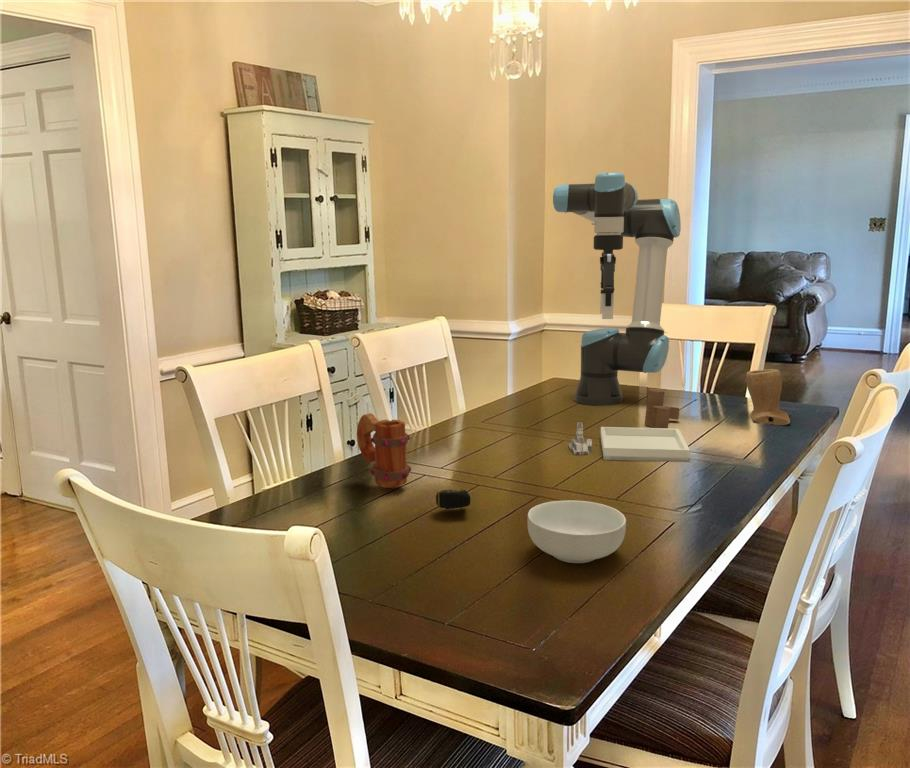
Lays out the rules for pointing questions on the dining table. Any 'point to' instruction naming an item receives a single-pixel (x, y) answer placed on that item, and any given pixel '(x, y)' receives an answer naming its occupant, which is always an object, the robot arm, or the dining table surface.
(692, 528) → the dining table surface
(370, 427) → the mug
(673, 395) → the dining table surface
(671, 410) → the wooden block set
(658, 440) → the tray
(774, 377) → the brown upright flared piece
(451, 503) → the tape measure
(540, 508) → the cereal bowl
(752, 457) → the dining table surface
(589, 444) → the house of cards
